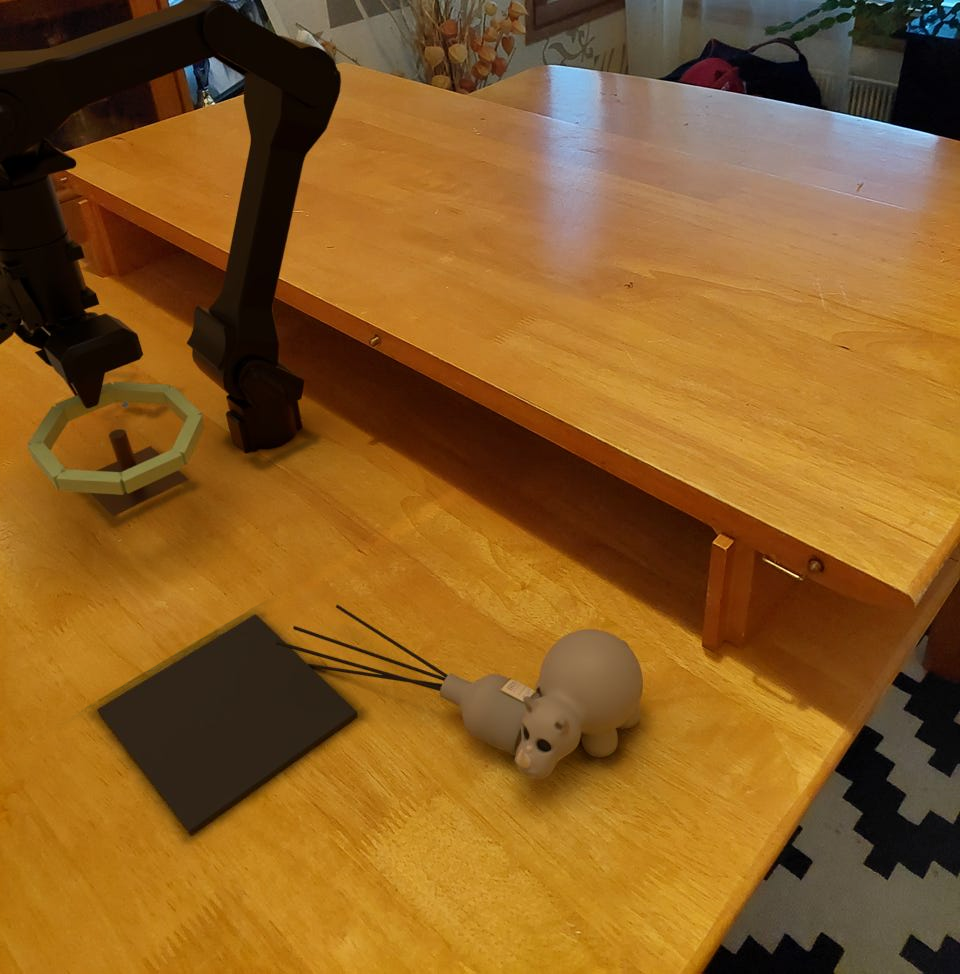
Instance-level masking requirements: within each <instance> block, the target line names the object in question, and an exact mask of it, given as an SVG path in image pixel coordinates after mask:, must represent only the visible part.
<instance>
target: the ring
mask: <svg viewBox="0 0 960 974" xmlns="http://www.w3.org/2000/svg"><path fill="white" fill-rule="evenodd" d="M117 402H120V403H125V402H126V403H136V404H154V405H166V406H167V407H168V408H169V409H170V410H171V411H172V412H173V413H174V414H175V415H176V416H178V418H179V419H181V420H182V422H183V425H182V427H181V429H180V431H179V433H178V436H177V438H176V440H175V442H174V444H173V446H172V448H171V449H169V450H167V451H164V452H163V453H160V455H158V456H156V457H154V458H152V459H150V460H147V461H145V462H143V463H141V464H138V465H136V466H134V467H132V468H130V469H127V470H125V471H123V472H105V471H97V470H87V469H86V470H85V469H70V468H69V469H68V468H65V466H64V465H63V464H62V463H61V462H60V460H59V459H58V458H57V457H56V456H55V454H54V453H53V452H52V448H53V447H54V445H55V444H56V442H57V440H58V439H59V438H60V435H61V434H62V433H63V431H64V429H65V428H66V427H67V424H68V422H71V421H73V420H75V419H77V418H80V417H83V416H85V415H89V413H93V412H95V411H97V410H99V409H102V408H105V407H107V406H110V405H112V404H114V403H117ZM204 429H205V423H204V418H203V414H202V411H200V409H198V408H197V406H196V405H194V404H193V403H192V402H191V401H190V400H189V399H188V398H187V397H186V396H184V395H183V393H181V391H179V390H178V389H177V387H175V386H174V385H172V386H171V385H170V384H168V383H167V384H165V383H164V384H163V383H146V382H132V381H131V382H129V381H128V382H127V381H113V383H112V382H111V381H110V382H107V383H103V385H102V389H101V394H100V399H99V403H98V405H96V406H94V407H92V408H89V409H87V408H86V407H85V406H84V405H83V403H82V401H81V400H80V398H79V397H78V395H77V396H75V395H74V396H71V397H69V398H66V399H63V400H62V401H60V402H57V403H55V404H54V405H52V406H51V407H50V409H49V410H48V411H47V413H46V414H45V416H44V417H43V419H42V421H41V422H40V424H38V427H37V428H36V430H35V431H34V432H33V434H32V436H31V437H30V439H29V440H28V442H27V449H28V451H29V453H30V456H31V459H32V460H33V461H34V463H35V464H36V465H37V466H38V468H39V469H40V470H41V471H42V472H43V474H44V475H45V476H46V478H47V479H48V480H49V481H50V483H51V484H52V485H53V486H54V487H55V488H56V490H60V492H67V493H68V492H70V493H87V494H90V493H101V494H118V495H123V494H124V492H125V491H126V492H127V493H131V492H133V491H135V490H137V489H139V488H141V487H144V486H146V485H148V484H150V483H152V482H154V481H156V480H159V479H161V478H163V477H165V476H167V475H169V474H172V473H174V472H176V471H178V470H179V471H180V470H182V469H184V468H185V465H186V466H188V465H189V463H190V461H191V459H192V456H193V454H194V453H195V450H196V448H197V445H198V443H199V440H200V439H201V436H202V434H203V432H204Z"/></svg>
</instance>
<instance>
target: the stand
mask: <svg viewBox="0 0 960 974" xmlns="http://www.w3.org/2000/svg"><path fill="white" fill-rule="evenodd" d="M108 439H109V441H110V445H111V447H112V450H113V452H114V456H115V459H116V461H114V462H112V463H110V464H108V465H106V466H103V467H101V468H99V469H97V470H96V471H105V472H123V471H125V470H127V469H130V468H132V467H134V466H136V465H138V464H141V463H143V462H145V461H147V460H150V459H152V458H154V457H156V456H158V455H161V453H160V452H159V451H158V450H156V449H155V448H153V446H151V445H149V446H147V447H145V448H143V449H140V450H139V451H136V452H133V449H132V445H131V443H130V440H129V437H128V433H127V431H126V430H125V429H123V428H119V429H114V430H112V431H111V432H110V433H108ZM187 481H189V478H188V477H187V476H186V475H184V473H182V472H181V471H180V470H178V471H176V472H174V473H172V474H169V475H167V476H165V477H163V478H161V479H159V480H156V481H154V482H152V483H150V484H148V485H146V486H144V487H141V488H139V489H137V490H135V491H133V492H131V493H127V492H126V491H125V492H124V494H123V495H118V494H101V493H89V494H90V495H91V496H92V498H94V499H95V500H96V501H97V502H98V503H99V504H100V505H101V506H102V507H103V508H104V509H105V510H106V511H107V512H108V513H109V514H110V516H112V517H116V516H118V515H120V514H122V513H125V512H126V511H128V510H130V509H132V508H134V507H136V506H138V505H140V504H142V503H144V502H146V501H148V500H150V499H152V498H154V497H156V496H158V495H161V494H162V493H165V492H166V491H168V490H170V489H173V488H174V487H177V486H179V485H181V484H183V483H185V482H187Z"/></svg>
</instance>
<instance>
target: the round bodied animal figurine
mask: <svg viewBox="0 0 960 974" xmlns="http://www.w3.org/2000/svg"><path fill="white" fill-rule="evenodd" d="M538 680H539V684H540V691H541V695H542V697H539V698H537V699H535V700H534V699H533V698H531V697H529V696H525V697H524V698H523V701H524V703H525V710H524V711H523V713H522V715H521V719H520V729H521V735H522V738H521V742H520V745H519V747H518V749H517V751H516V755H514V760H513V762H514V764H515V765H516V766H517V768H518V770H519V772H520V774H522V775H523V777H526V778H527V779H530V780H542V779H545V778H547V777H549V776H550V775H551V774H552V772H553V771H554V769H555V768H556V766H557V764H558V763H559V761H560V760H561V759H563V758H564V757H566V756H568V755H569V754H571V753H572V752H574V750H576V748H577V747H578V745H579V743H580V741H581V744H582V747H583V748H584V750H585V752H586V753H587V754H588V755H590V756H592V757H594V758H604V757H608V756H611V755H612V754H613V753H614V752H615V751H616V749H617V747H618V742H619V736H618V731H617V729H630V728H632V727H634V726H636V725H637V724H638V722H640V720H641V715H642V706H641V705H642V704H641V698H642V694H643V690H644V689H643V688H644V676H643V672H642V667H641V665H640V661H639V659H638V658H637V656H636V654H635V653H634V651H633V650H632V648H631V647H630V646H629V644H628V642H627V641H625V640H624V639H621V638H620V637H618V636H616V635H615V634H613V633H610V632H608V631H605V630H601V629H595V628H594V629H593V628H585V629H578V630H574V631H573V632H570V633H568V634H566V635H564V636H562V637H561V638H558V640H557V641H556V642H555V643H554V644H553V645H551V647H550V648H549V649H548V651H547V652H546V653H545V655H544V658H543V660H542V662H541V666H540V670H539V679H538Z"/></svg>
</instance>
